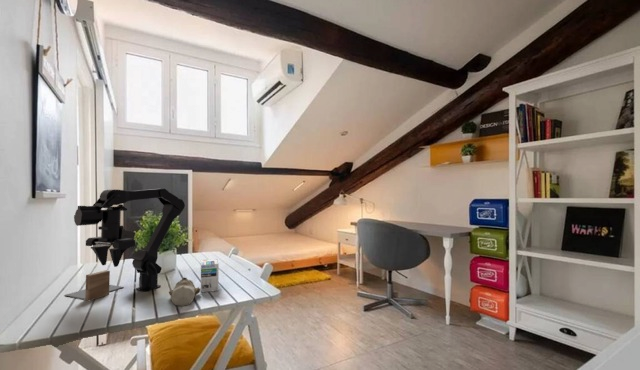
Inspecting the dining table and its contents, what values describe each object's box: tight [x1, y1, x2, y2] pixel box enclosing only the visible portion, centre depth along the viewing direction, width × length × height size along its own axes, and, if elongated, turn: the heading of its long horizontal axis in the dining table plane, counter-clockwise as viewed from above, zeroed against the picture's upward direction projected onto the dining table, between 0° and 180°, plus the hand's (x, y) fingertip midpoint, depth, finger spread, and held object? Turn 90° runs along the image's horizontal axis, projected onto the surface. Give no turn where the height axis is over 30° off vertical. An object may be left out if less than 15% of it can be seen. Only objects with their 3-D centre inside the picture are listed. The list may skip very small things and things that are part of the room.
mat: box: [64, 284, 124, 300], centre depth 114 cm, size 12×14×1 cm
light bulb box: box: [200, 258, 219, 293], centre depth 119 cm, size 11×7×11 cm, turn 22°
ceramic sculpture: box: [168, 277, 201, 307], centre depth 104 cm, size 11×9×15 cm
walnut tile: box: [84, 269, 111, 301], centre depth 108 cm, size 2×7×9 cm, turn 160°
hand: (110, 265), depth 107 cm, fingers open, 6 cm apart
